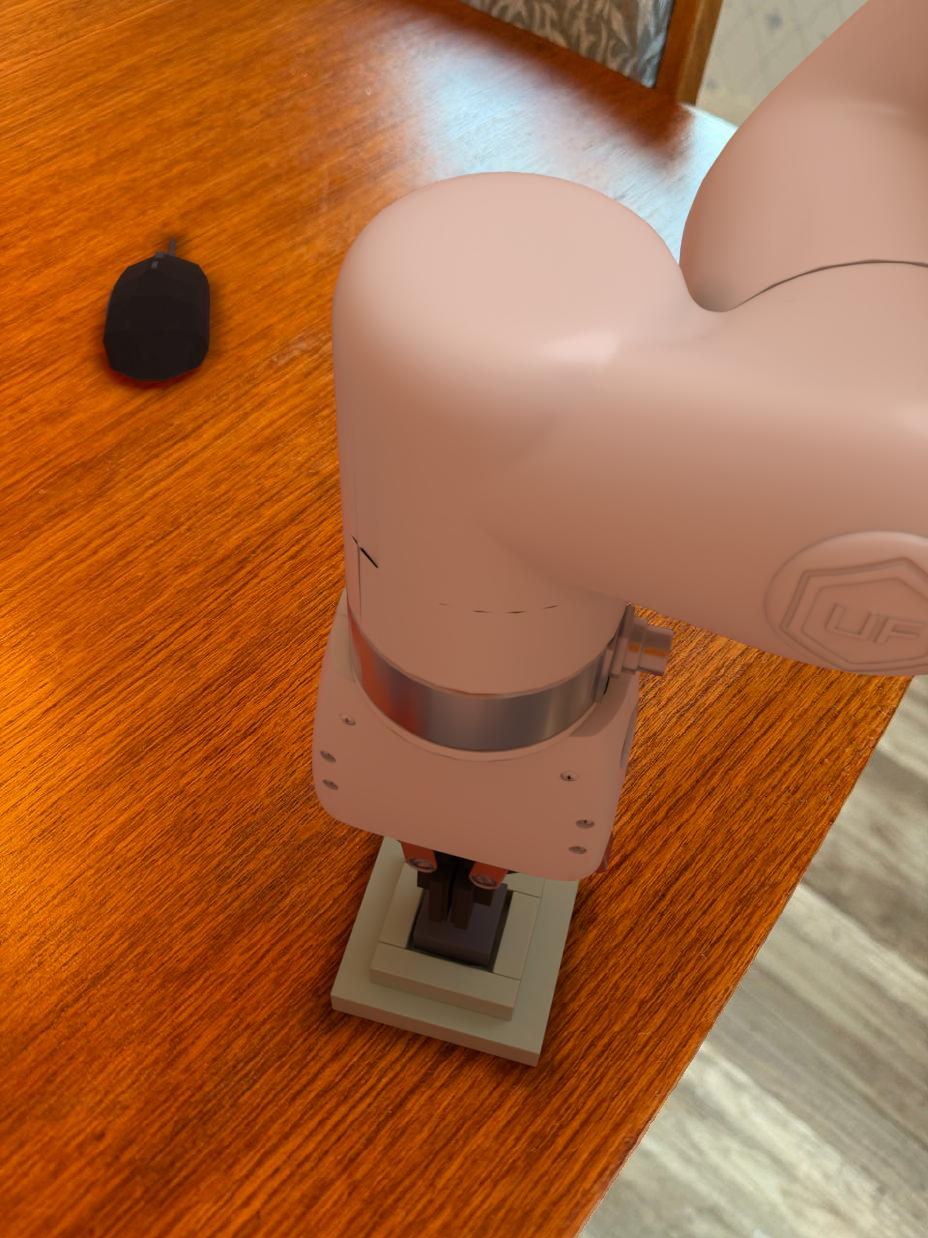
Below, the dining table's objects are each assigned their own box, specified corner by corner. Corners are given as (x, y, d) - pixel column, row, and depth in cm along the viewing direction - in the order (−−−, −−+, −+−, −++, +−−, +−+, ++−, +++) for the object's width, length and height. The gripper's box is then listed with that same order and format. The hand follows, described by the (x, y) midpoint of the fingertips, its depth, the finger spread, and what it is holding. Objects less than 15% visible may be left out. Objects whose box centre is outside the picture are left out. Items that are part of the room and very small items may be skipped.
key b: (505, 898, 51) (508, 883, 50) (487, 969, 50) (489, 955, 48) (434, 879, 52) (434, 864, 51) (412, 948, 50) (413, 934, 49)
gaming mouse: (220, 242, 83) (212, 191, 80) (206, 390, 74) (196, 339, 71) (127, 243, 82) (116, 191, 79) (102, 391, 74) (88, 340, 70)
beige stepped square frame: (575, 895, 55) (584, 862, 52) (536, 1067, 50) (543, 1041, 47) (387, 845, 56) (386, 810, 53) (331, 1009, 51) (327, 980, 49)
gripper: (764, 580, 35) (656, 857, 49) (277, 468, 37) (312, 767, 51) (731, 802, 30) (622, 1034, 45) (178, 662, 32) (248, 928, 47)
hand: (457, 891), depth 48 cm, fingers closed
